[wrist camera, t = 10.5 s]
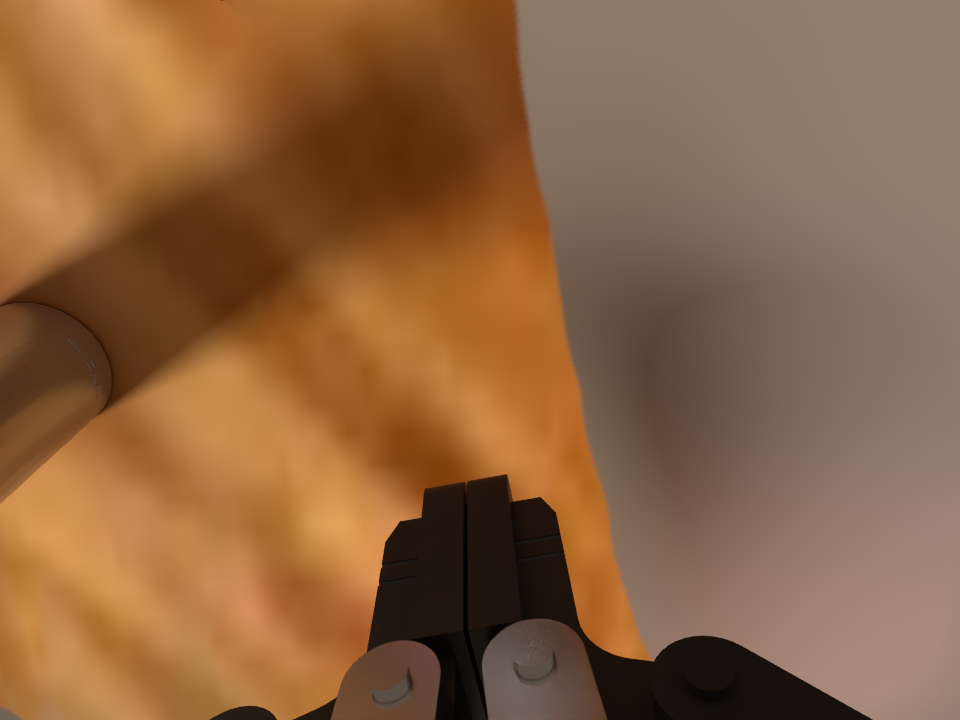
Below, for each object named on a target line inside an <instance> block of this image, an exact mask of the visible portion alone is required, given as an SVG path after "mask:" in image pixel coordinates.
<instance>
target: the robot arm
mask: <svg viewBox="0 0 960 720" xmlns="http://www.w3.org/2000/svg"><path fill="white" fill-rule="evenodd" d="M111 386H112V376H111V368H110V365H109V362H108V359H107V356H106V354H105V352H104V350H103V349H102V347H101V345H100V343H99V342H98V341H97V340H96V338H95V337H94V336H93V335H92V334H91V332H90V331H89V330H88V329H87V328H85V327H84V326H83V325H82V324H81V323H79V322H78V321H77V320H76V319H74V318H72V317H70V316H69V315H67V314H65V313H64V312H62V311H59V310H57V309H54V308H51V307H49V306H45V305H40V304H35V303H12V304H7V305H3V306H0V504H1V503H2V502H3V501H4V500H5V499H6V498H8V497H9V496H10V495H11V494H12V493H13V492H14V491H15V490H16V489H17V488H18V487H19V486H21V485H22V484H23V483H24V482H25V481H26V480H27V479H28V478H29V477H30V476H31V475H32V474H34V473H35V472H36V471H37V470H38V469H39V468H40V467H41V466H42V465H43V464H44V463H46V462H47V461H48V460H49V459H50V458H51V457H52V456H53V455H54V454H55V453H56V452H57V451H59V450H60V449H61V448H62V447H63V446H64V445H65V444H66V443H68V442H69V441H70V440H71V439H72V438H73V437H74V436H75V435H76V434H77V433H78V432H79V431H80V430H82V429H83V428H84V427H85V426H86V425H87V424H88V423H89V422H90V421H91V420H92V419H93V418H94V417H96V416H97V415H98V414H99V412H100V411H101V410H102V409H103V407H104V406H105V405H106V402H107V400H108V398H109V396H110V392H111ZM210 720H277V719H276V718H275V716H274V715H273V714H272V713H271V712H270V711H268V710H266V709H264V708H261V707H257V706H244V707H238V708H234V709H230V710H228V711H225V712H223V713H221V714H219V715H217V716H215V717H213V718H212V719H210ZM293 720H872V719H871V718H869V717H867V716H865V715H863V714H862V713H860V712H858V711H856V710H854V709H853V708H851V707H849V706H847V705H846V704H844V703H842V702H840V701H839V700H837V699H835V698H833V697H831V696H830V695H828V694H826V693H824V692H822V691H821V690H819V689H817V688H815V687H814V686H812V685H810V684H808V683H807V682H805V681H803V680H801V679H799V678H797V677H796V676H794V675H792V674H791V673H789V672H787V671H785V670H783V669H781V668H780V667H778V666H776V665H774V664H773V663H771V662H769V661H767V660H766V659H764V658H762V657H760V656H758V655H757V654H755V653H753V652H751V651H750V650H748V649H746V648H744V647H743V646H740V645H738V644H736V643H734V642H732V641H729V640H726V639H723V638H718V637H713V636H693V637H688V638H684V639H681V640H678V641H675V642H674V643H672V644H670V645H668V646H667V647H666V648H665V649H663V650H662V651H661V652H660V654H659V655H658V656H657V657H656V659H655V661H654V662H653V661H645V660H637V659H630V658H624V657H620V656H617V655H614V654H611V653H609V652H607V651H604V650H603V649H601V648H599V647H598V646H596V645H595V644H594V643H593V642H592V641H591V640H589V639H588V637H587V636H586V635H585V634H584V632H583V630H582V628H581V627H580V624H579V620H578V616H577V612H576V607H575V602H574V597H573V592H572V588H571V583H570V578H569V573H568V568H567V564H566V559H565V554H564V549H563V544H562V540H561V535H560V530H559V525H558V520H557V516H556V512H555V511H554V510H553V509H552V508H551V507H550V506H549V505H548V504H547V503H546V502H545V501H544V500H543V499H542V498H541V497H538V498H532V499H527V500H521V501H515V502H513V499H512V494H511V489H510V484H509V480H508V476H507V474H506V475H500V476H494V477H489V478H483V479H477V480H471V481H468V482H467V485H466V483H465V482H461V483H455V484H449V485H444V486H438V487H432V488H427V489H425V491H424V499H423V509H422V518H418V519H412V520H406V521H400V522H399V524H398V525H397V527H396V528H395V529H394V531H393V532H392V534H391V535H390V537H389V538H388V539H387V541H386V542H385V548H384V554H383V560H382V568H381V572H380V578H379V586H378V589H377V595H376V601H375V607H374V613H373V619H372V625H371V631H370V637H369V643H368V649H367V653H365V654H364V655H363V656H361V657H360V658H359V659H358V660H357V661H356V662H355V663H354V664H353V665H352V666H351V667H350V668H349V670H348V671H347V673H346V674H345V676H344V678H343V680H342V683H341V685H340V689H339V692H338V696H337V697H336V698H335V699H333V700H332V701H330V702H329V703H327V704H326V705H324V706H322V707H320V708H318V709H316V710H314V711H311V712H309V713H307V714H305V715H302V716H300V717H298V718H296V719H293Z"/></svg>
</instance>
